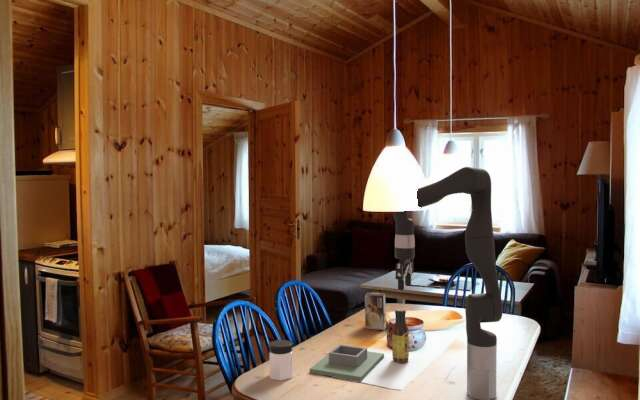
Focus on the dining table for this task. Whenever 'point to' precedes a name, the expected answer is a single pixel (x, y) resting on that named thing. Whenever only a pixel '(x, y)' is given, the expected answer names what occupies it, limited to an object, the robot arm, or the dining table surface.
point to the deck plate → (347, 363)
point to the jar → (280, 360)
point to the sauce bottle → (400, 338)
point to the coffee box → (375, 311)
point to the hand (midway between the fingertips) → (404, 287)
